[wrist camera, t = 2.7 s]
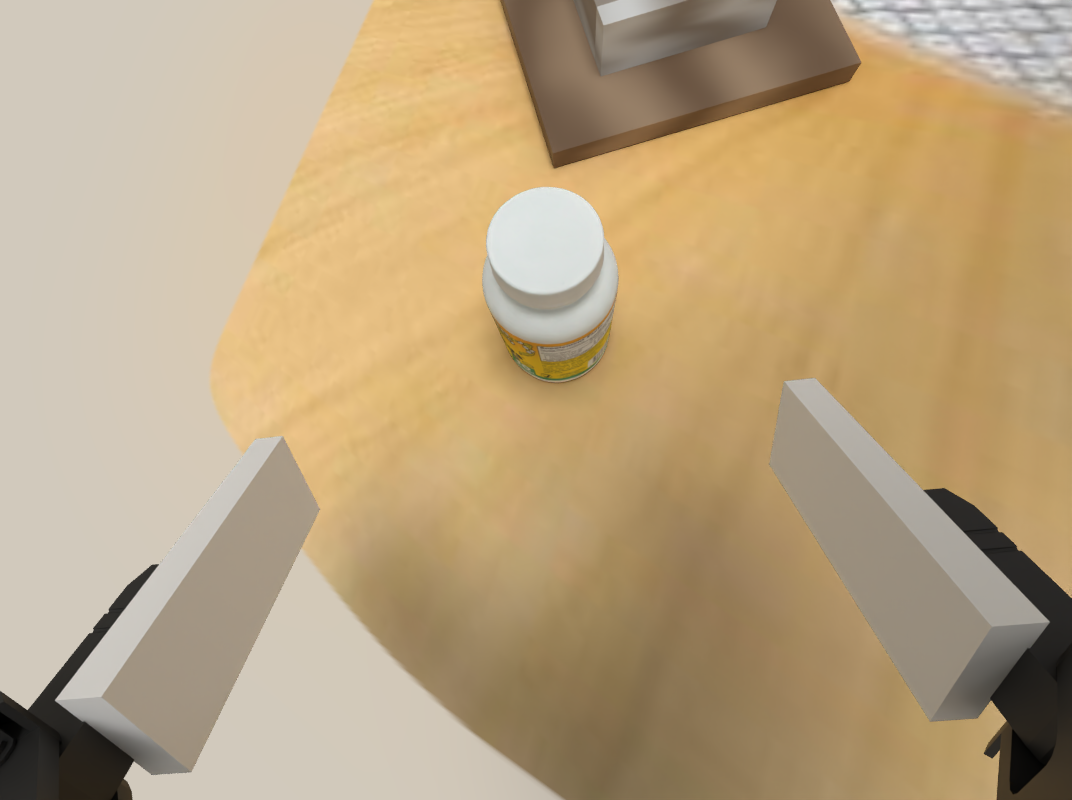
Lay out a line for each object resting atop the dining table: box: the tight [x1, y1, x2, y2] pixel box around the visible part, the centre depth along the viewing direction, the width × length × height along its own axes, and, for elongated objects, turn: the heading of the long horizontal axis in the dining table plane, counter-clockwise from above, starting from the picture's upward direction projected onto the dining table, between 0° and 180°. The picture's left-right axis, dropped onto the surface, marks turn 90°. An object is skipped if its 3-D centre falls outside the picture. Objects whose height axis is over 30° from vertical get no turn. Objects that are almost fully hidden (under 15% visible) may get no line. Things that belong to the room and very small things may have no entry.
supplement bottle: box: [482, 187, 618, 382], centre depth 21 cm, size 5×5×10 cm
